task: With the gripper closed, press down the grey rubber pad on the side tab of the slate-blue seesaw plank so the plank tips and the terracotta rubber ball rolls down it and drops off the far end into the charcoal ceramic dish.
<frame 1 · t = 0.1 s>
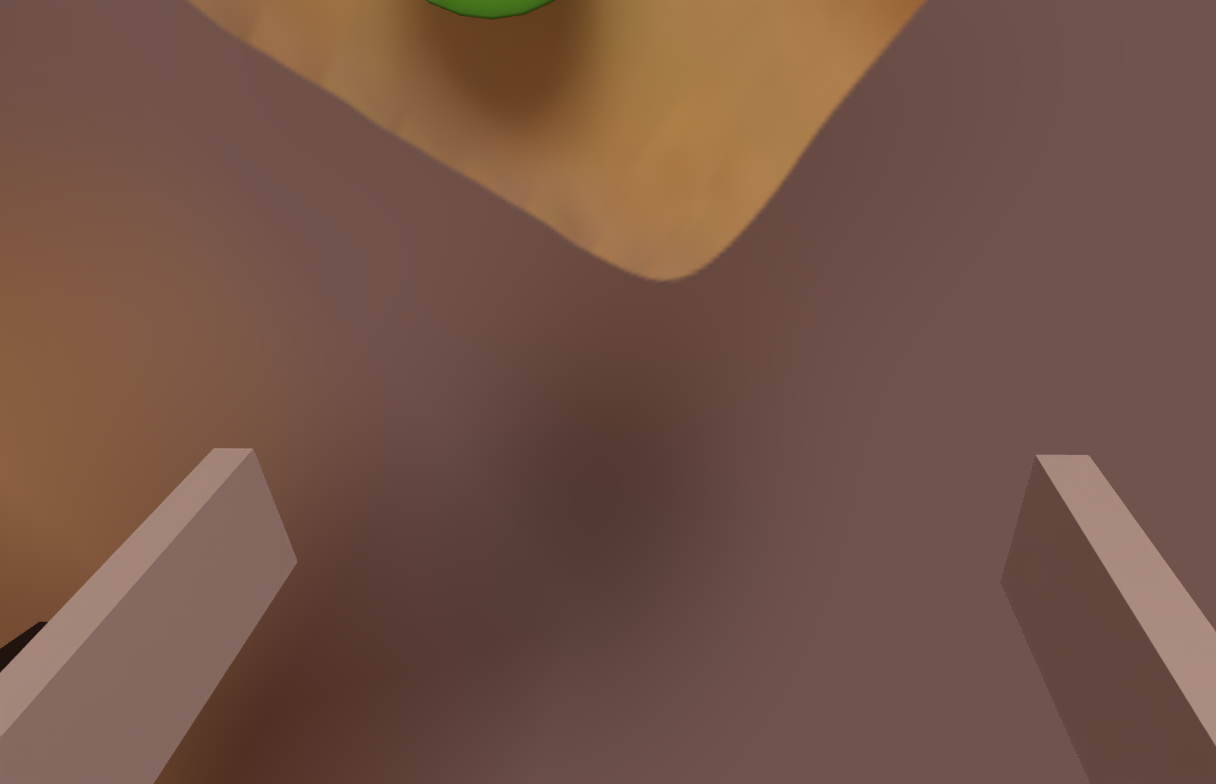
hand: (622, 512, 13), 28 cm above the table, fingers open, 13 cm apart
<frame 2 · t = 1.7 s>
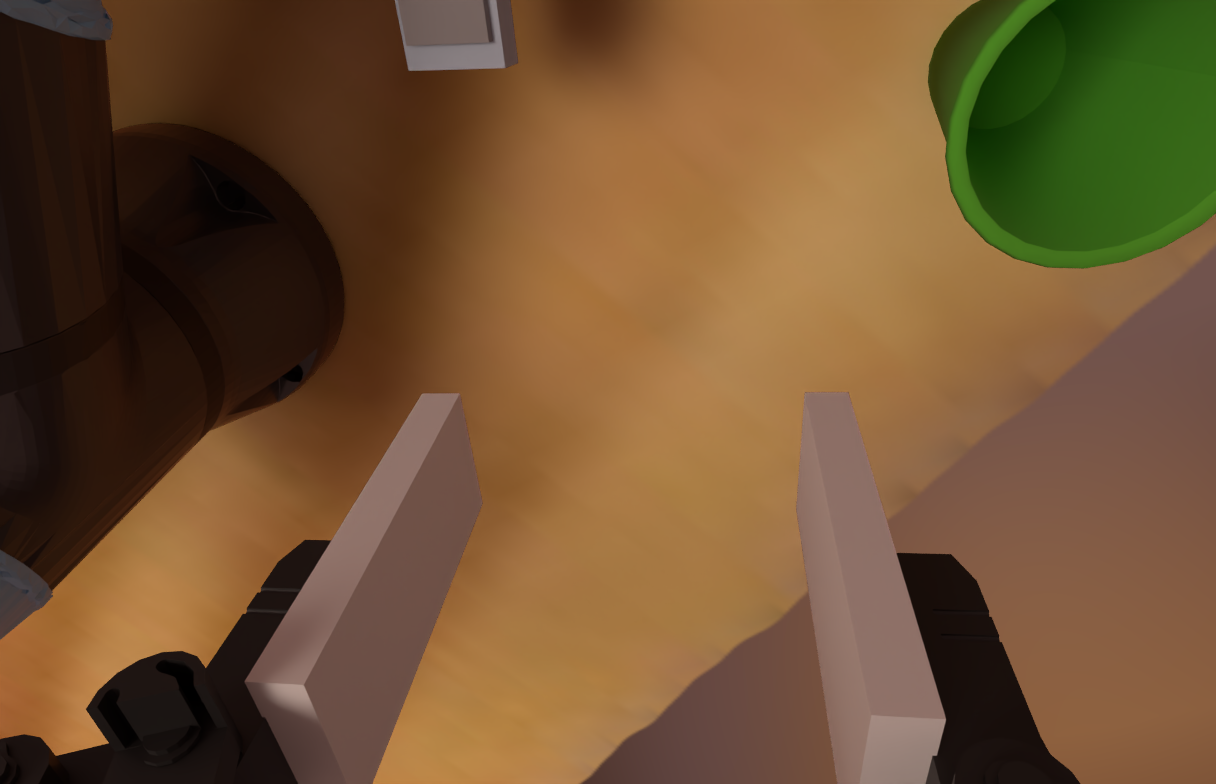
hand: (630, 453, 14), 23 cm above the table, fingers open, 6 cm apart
cup: (991, 62, 31), on the table
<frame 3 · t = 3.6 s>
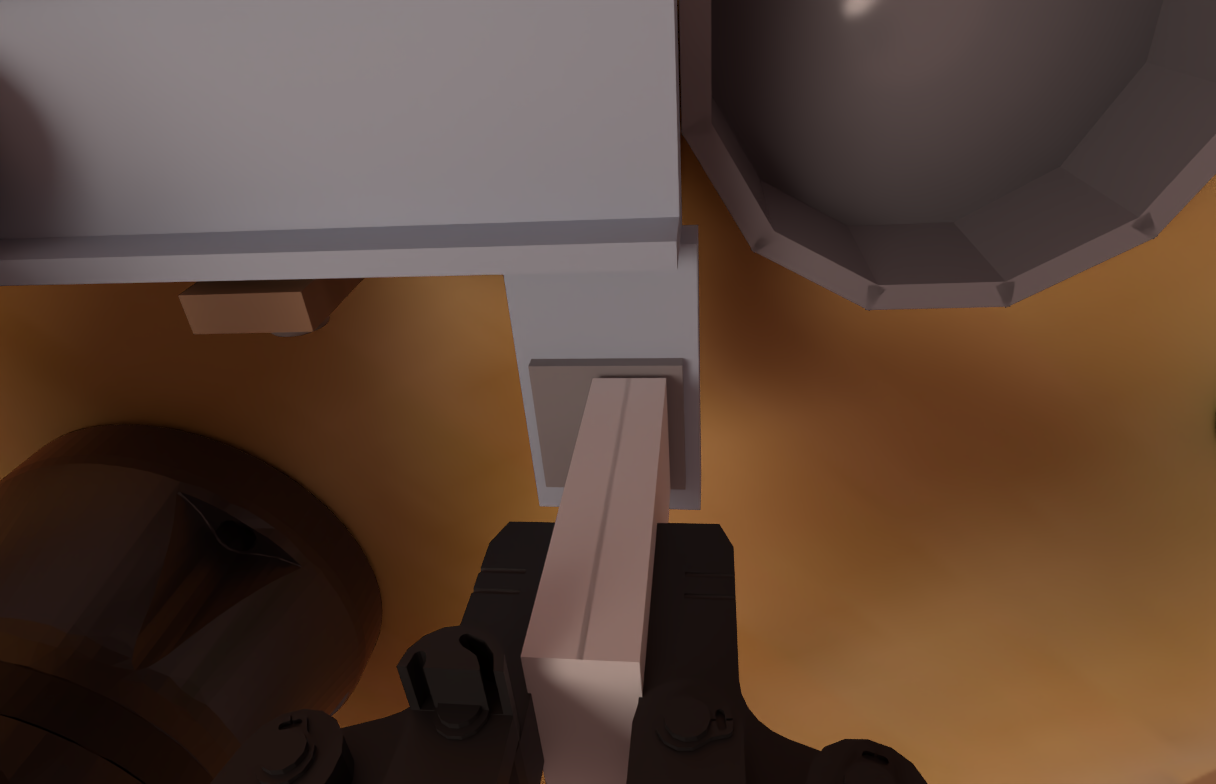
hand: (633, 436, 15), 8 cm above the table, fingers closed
fulcrum: (372, 49, 19), on the table
dish: (921, 10, 18), on the table
lever: (262, 282, 14), point 8 cm above the table, hinge at -1.2°, touching ball, gripper
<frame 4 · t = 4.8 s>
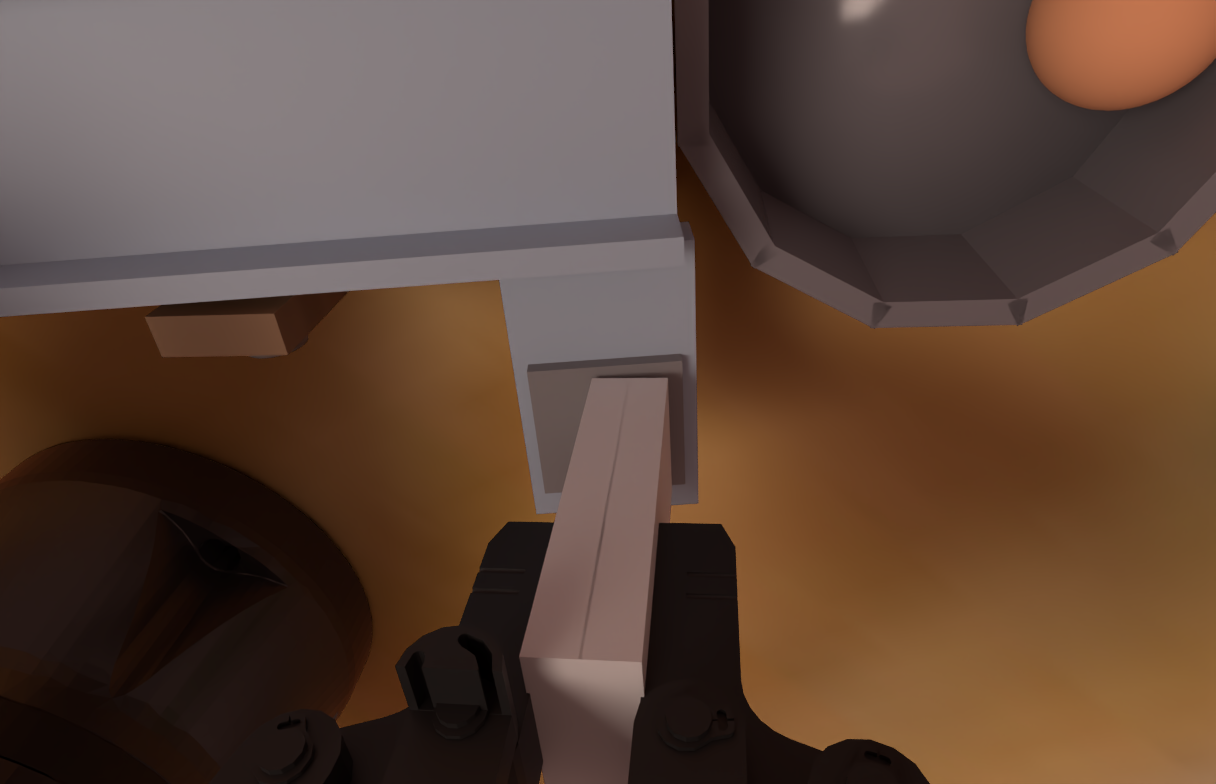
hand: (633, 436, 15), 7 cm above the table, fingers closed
fulcrum: (356, 54, 19), on the table
ball: (1128, 14, 15), point 2 cm above the table, tilted 33°, touching dish
dish: (928, 14, 17), on the table
lever: (242, 302, 13), point 8 cm above the table, hinge at 6.4°, touching gripper
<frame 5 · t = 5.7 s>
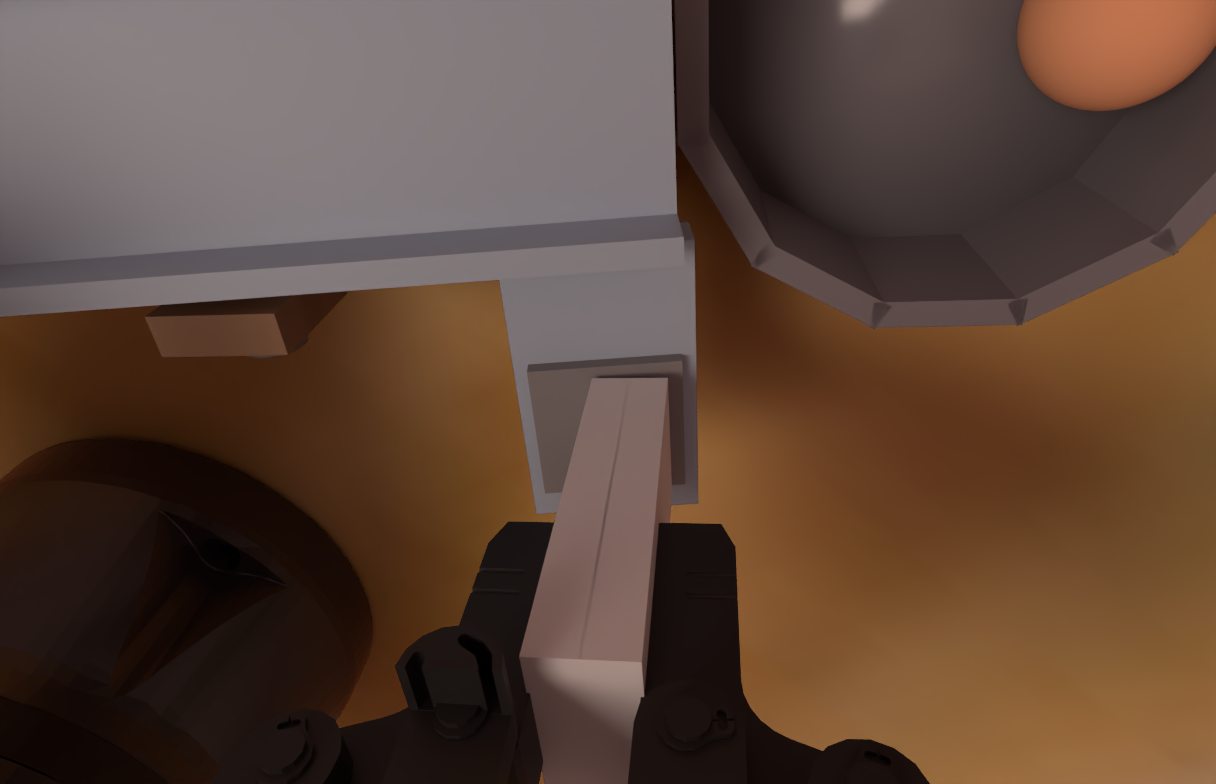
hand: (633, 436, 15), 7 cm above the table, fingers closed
fulcrum: (356, 54, 19), on the table
ball: (1119, 15, 15), point 2 cm above the table, tilted 27°, touching dish
dish: (928, 14, 17), on the table
lever: (242, 302, 13), point 8 cm above the table, hinge at 6.4°, touching gripper
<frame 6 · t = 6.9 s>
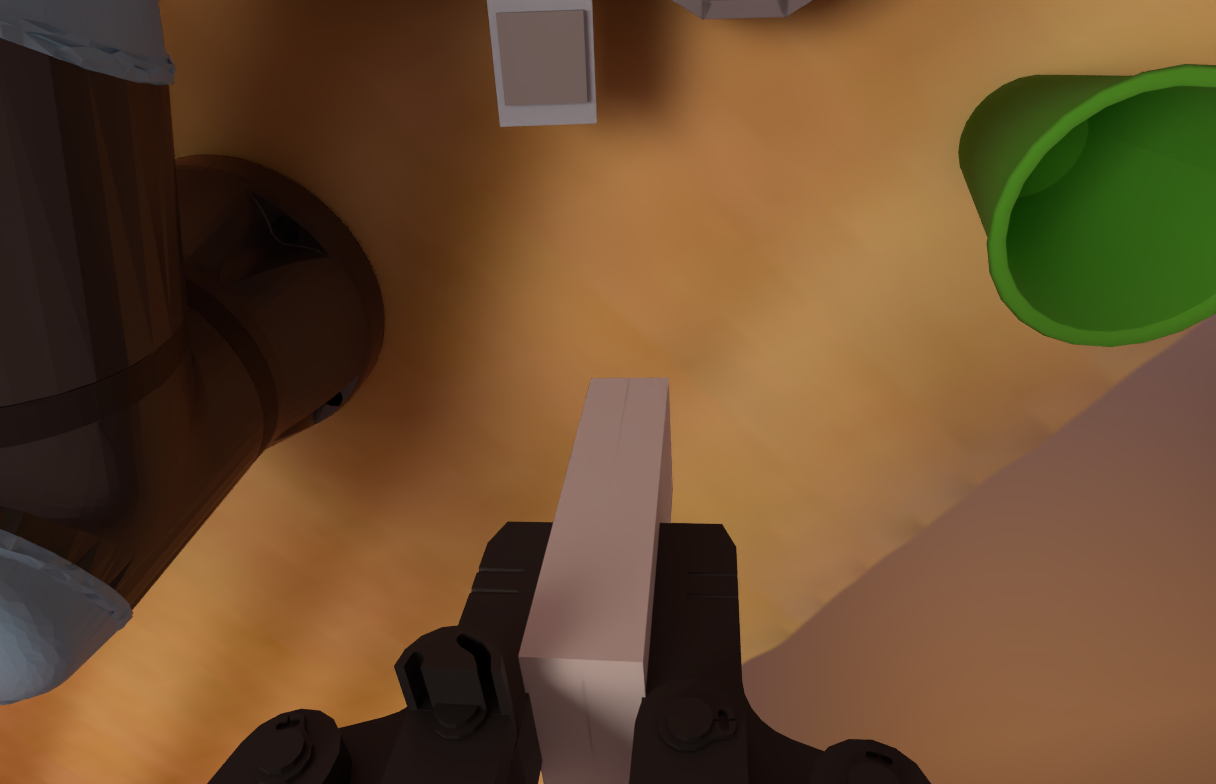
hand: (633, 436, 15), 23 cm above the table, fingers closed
cup: (1018, 136, 33), on the table
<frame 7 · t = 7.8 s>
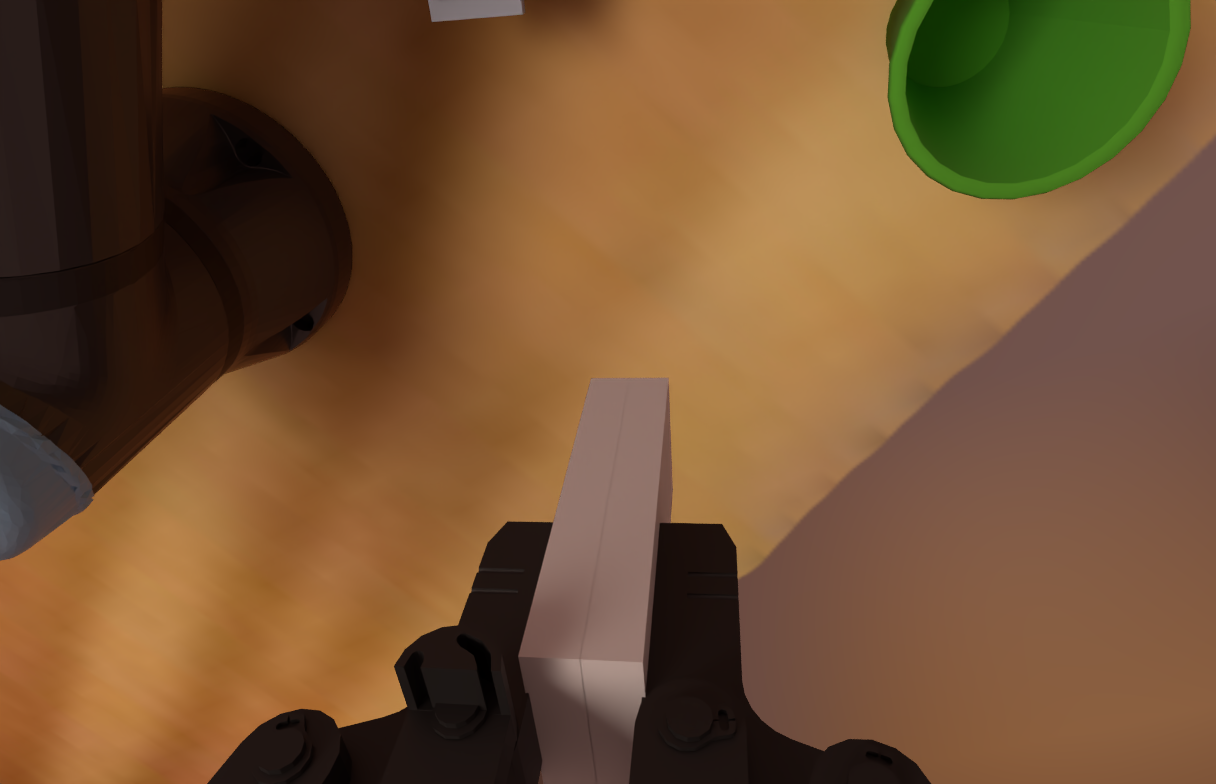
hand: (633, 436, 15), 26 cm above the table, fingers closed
cup: (944, 26, 34), on the table
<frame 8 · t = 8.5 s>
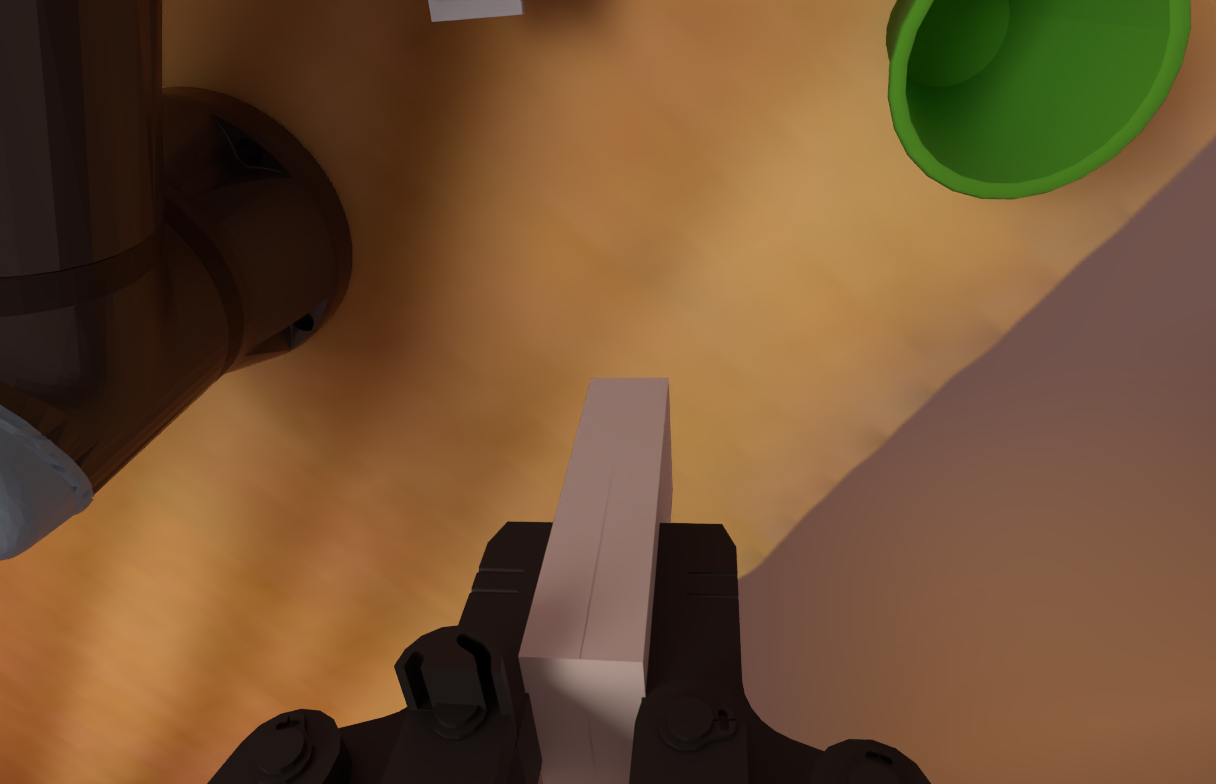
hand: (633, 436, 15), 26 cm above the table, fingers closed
cup: (944, 26, 34), on the table
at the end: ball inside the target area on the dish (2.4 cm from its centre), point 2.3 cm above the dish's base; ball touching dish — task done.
